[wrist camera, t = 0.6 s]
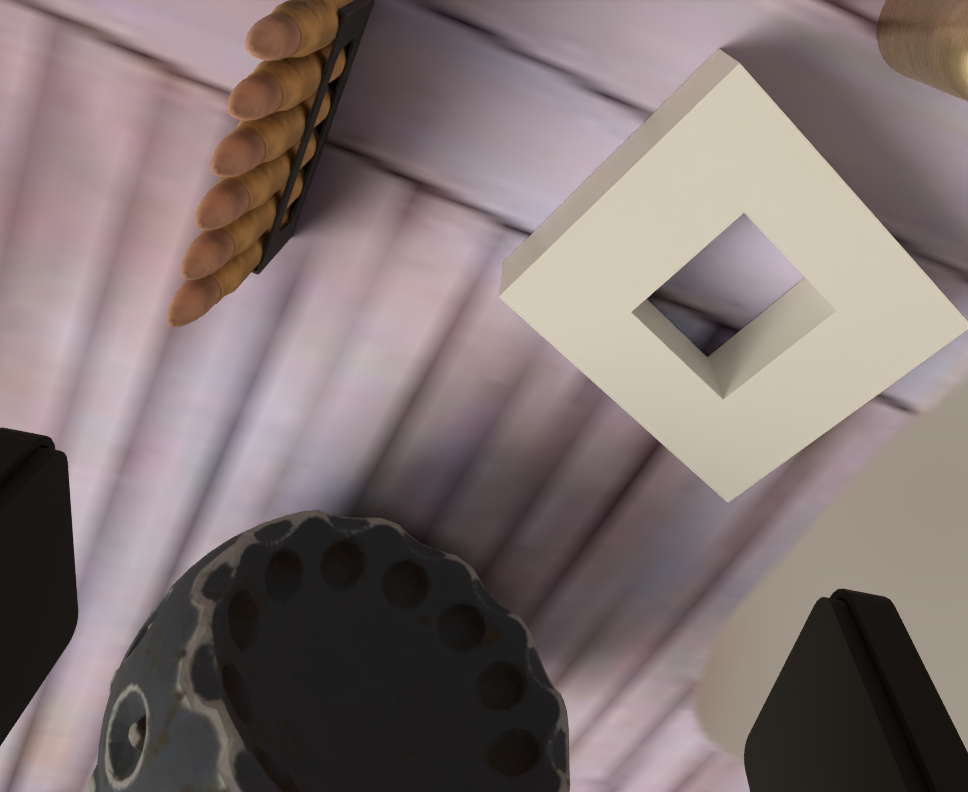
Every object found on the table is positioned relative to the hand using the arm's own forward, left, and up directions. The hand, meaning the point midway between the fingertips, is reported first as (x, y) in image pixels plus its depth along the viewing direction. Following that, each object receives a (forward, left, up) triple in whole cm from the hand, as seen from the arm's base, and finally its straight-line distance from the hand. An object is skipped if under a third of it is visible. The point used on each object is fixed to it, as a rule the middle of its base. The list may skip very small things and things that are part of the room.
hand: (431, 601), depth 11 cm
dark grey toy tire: (+22, +12, -28) cm, 37 cm away
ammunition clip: (+5, -6, -28) cm, 29 cm away
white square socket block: (-2, +11, -28) cm, 29 cm away
